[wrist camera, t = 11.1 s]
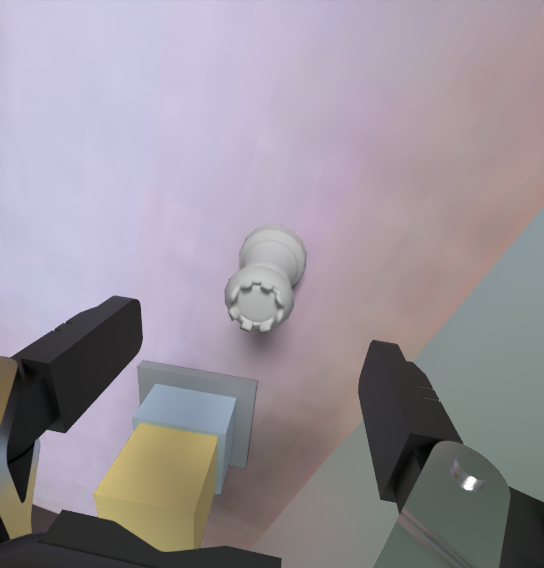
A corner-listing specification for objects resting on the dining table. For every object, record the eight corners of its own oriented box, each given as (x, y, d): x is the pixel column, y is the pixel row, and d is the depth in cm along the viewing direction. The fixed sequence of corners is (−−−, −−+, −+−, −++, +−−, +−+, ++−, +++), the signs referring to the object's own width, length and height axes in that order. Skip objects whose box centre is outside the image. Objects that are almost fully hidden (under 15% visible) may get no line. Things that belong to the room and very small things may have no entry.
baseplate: (147, 441, 28) (122, 486, 24) (142, 360, 25) (111, 397, 21) (246, 460, 28) (237, 509, 24) (257, 380, 24) (248, 423, 20)
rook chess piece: (281, 296, 21) (268, 368, 14) (230, 261, 20) (187, 315, 13) (320, 249, 19) (329, 300, 12) (265, 208, 19) (240, 237, 11)
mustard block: (144, 475, 24) (105, 550, 19) (139, 422, 21) (93, 493, 17) (215, 489, 23) (193, 568, 19) (218, 436, 21) (194, 513, 16)
